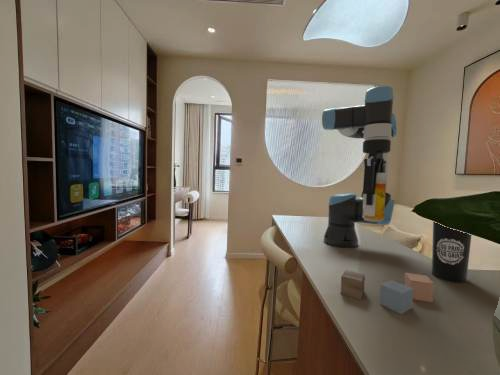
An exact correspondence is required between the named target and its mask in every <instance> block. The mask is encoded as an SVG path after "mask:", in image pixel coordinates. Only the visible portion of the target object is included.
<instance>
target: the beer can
mask: <svg viewBox="0 0 500 375" xmlns="http://www.w3.org/2000/svg"><path fill="white" fill-rule="evenodd" d="M385 191H386V175H385V173H377V176H376V188H375V194H374V195H376V204H375V216H366V215H365V195H366V194H363V212H362V217H363V218H364V220H366V221H371V222H382V220H383V219H384V211H385Z"/></svg>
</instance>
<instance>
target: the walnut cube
mask: <svg viewBox="0 0 500 375" xmlns="http://www.w3.org/2000/svg"><path fill="white" fill-rule="evenodd" d="M365 277H366V274H364V273H361V272H356V271H352V270H348V269H345V270H344V272H343V273H342V274H341V278H340V279H341V280H340V281H341V283H340V294H341V295H344V296H347V297H350V298H354V299H358V300H362V298H363V295H364V293H365V281H366V280H365V279H366V278H365Z"/></svg>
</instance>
